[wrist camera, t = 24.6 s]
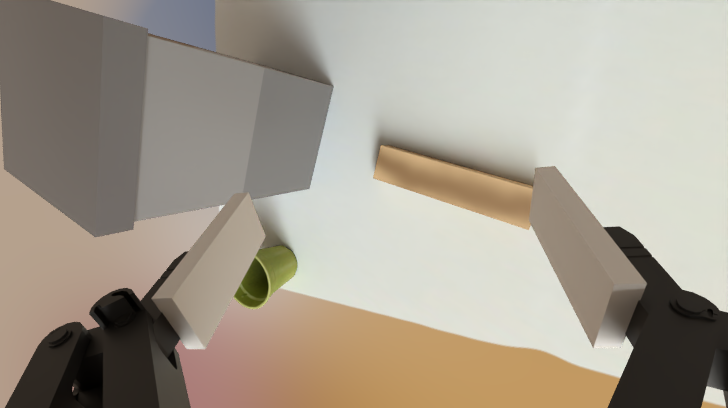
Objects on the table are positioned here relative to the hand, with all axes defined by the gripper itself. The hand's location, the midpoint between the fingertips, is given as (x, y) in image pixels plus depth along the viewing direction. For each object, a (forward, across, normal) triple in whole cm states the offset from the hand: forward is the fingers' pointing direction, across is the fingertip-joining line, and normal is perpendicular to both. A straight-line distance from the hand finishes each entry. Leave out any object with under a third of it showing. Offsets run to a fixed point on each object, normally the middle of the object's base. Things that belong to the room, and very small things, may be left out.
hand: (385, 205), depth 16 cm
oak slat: (+26, +6, -14) cm, 30 cm away
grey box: (+38, -20, -8) cm, 44 cm away
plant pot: (+29, -23, -30) cm, 47 cm away
